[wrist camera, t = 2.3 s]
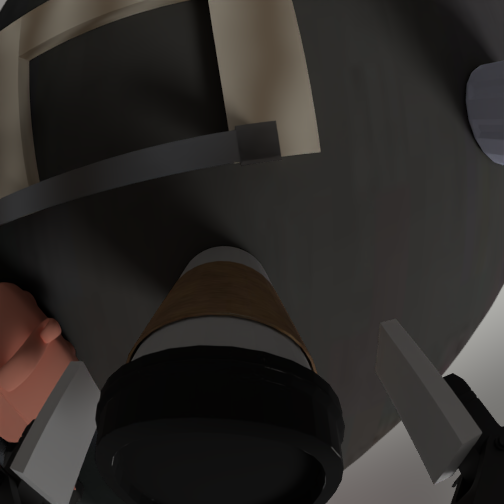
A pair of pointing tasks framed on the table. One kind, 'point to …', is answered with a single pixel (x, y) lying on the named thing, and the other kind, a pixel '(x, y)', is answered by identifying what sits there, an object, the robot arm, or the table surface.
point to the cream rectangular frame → (178, 152)
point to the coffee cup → (220, 399)
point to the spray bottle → (487, 108)
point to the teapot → (27, 359)
